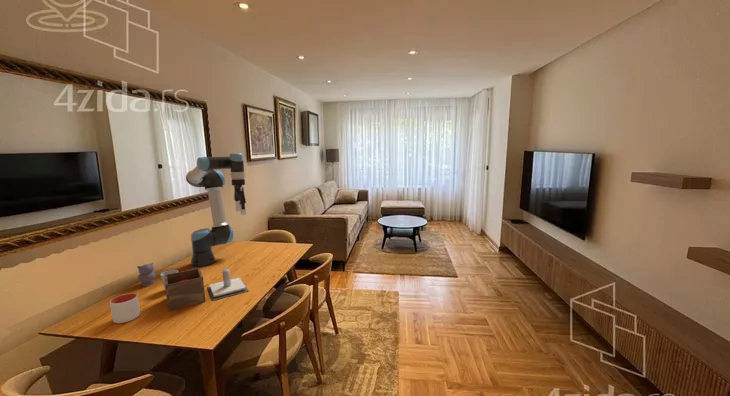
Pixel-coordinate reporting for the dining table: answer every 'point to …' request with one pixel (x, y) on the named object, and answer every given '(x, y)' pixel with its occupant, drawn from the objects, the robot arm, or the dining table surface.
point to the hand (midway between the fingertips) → (240, 212)
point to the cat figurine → (146, 274)
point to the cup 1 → (125, 308)
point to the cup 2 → (166, 274)
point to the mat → (226, 294)
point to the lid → (227, 285)
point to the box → (184, 289)
